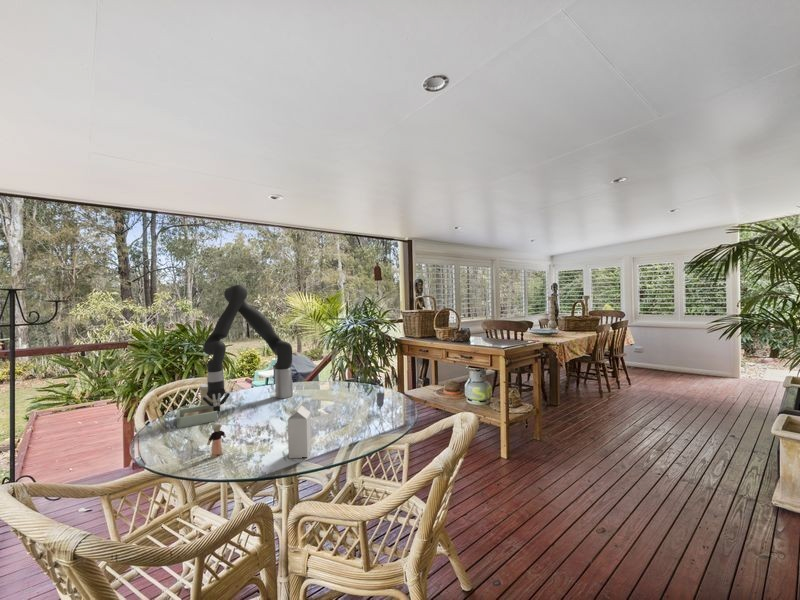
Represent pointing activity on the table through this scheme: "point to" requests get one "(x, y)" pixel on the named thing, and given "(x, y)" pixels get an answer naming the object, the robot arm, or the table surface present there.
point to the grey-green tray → (195, 416)
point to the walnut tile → (205, 411)
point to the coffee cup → (204, 392)
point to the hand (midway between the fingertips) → (216, 413)
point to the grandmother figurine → (216, 440)
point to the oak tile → (191, 413)
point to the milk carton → (299, 432)
